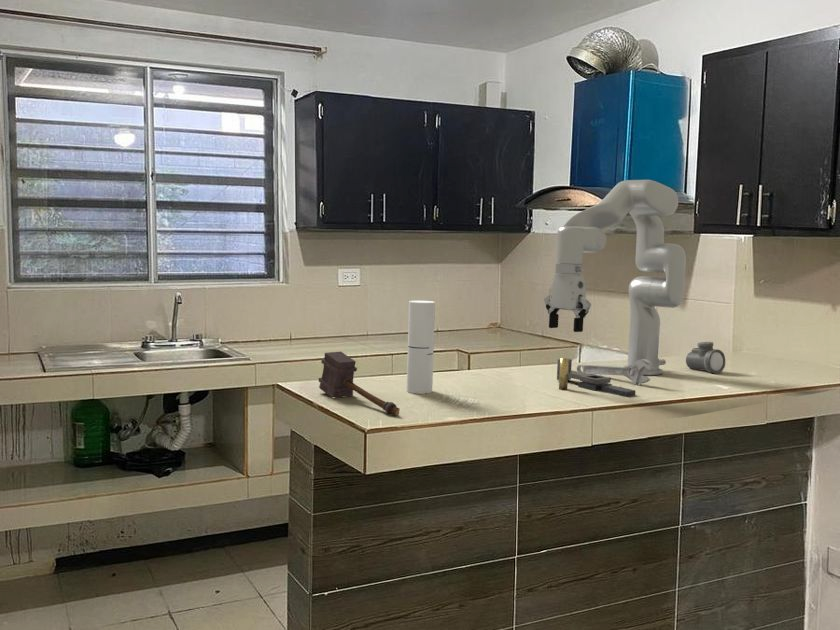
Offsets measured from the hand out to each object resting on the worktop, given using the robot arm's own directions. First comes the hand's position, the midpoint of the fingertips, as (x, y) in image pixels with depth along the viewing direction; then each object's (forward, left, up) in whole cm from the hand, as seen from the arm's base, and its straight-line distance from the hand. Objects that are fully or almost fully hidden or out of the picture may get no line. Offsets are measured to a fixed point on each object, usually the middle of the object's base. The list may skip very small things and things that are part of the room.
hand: (565, 329), depth 230 cm
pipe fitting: (-67, 0, -18) cm, 69 cm away
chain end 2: (-10, +8, -17) cm, 22 cm away
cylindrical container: (+39, -17, -18) cm, 46 cm away
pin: (0, 0, -17) cm, 17 cm away
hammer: (+61, -11, -18) cm, 65 cm away
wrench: (-26, -4, -18) cm, 31 cm away
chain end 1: (-10, -2, -17) cm, 20 cm away
